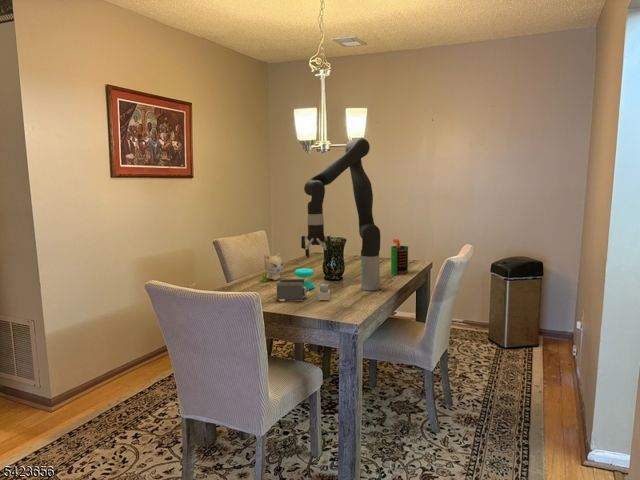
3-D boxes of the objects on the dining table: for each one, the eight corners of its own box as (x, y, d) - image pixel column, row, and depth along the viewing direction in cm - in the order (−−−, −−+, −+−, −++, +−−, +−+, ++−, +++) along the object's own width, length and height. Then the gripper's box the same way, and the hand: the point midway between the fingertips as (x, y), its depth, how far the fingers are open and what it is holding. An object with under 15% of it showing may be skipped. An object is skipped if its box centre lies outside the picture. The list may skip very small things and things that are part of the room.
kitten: (267, 283, 253) (266, 256, 251) (257, 280, 261) (256, 254, 259) (289, 279, 263) (288, 253, 260) (279, 276, 270) (278, 251, 268)
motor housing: (307, 295, 226) (307, 278, 225) (305, 301, 216) (304, 283, 215) (280, 295, 227) (280, 278, 226) (277, 301, 217) (276, 283, 216)
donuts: (316, 270, 236) (297, 272, 232) (316, 289, 237) (298, 291, 234) (309, 267, 245) (291, 268, 242) (310, 285, 246) (292, 287, 243)
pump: (329, 298, 221) (329, 283, 220) (329, 300, 216) (328, 286, 215) (319, 298, 221) (319, 283, 220) (318, 300, 216) (318, 286, 215)
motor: (401, 276, 262) (401, 241, 259) (387, 274, 268) (387, 240, 265) (409, 272, 270) (409, 238, 267) (396, 271, 275) (395, 237, 273)
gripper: (332, 222, 218) (333, 256, 221) (303, 222, 222) (304, 255, 224) (328, 224, 211) (329, 259, 213) (298, 224, 215) (300, 258, 217)
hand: (316, 257), depth 219 cm, fingers open, 8 cm apart
